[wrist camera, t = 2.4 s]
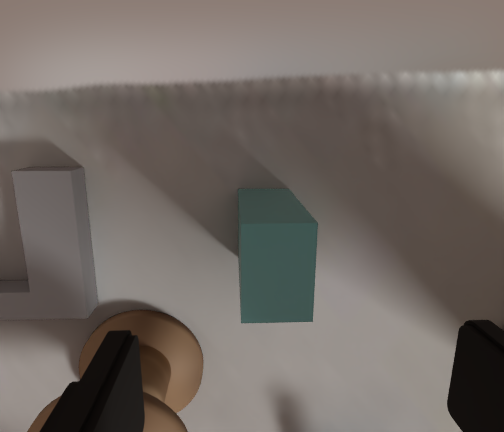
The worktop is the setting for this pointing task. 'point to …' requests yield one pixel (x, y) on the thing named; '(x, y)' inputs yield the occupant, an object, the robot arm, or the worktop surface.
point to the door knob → (152, 366)
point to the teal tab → (275, 257)
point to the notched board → (52, 247)
